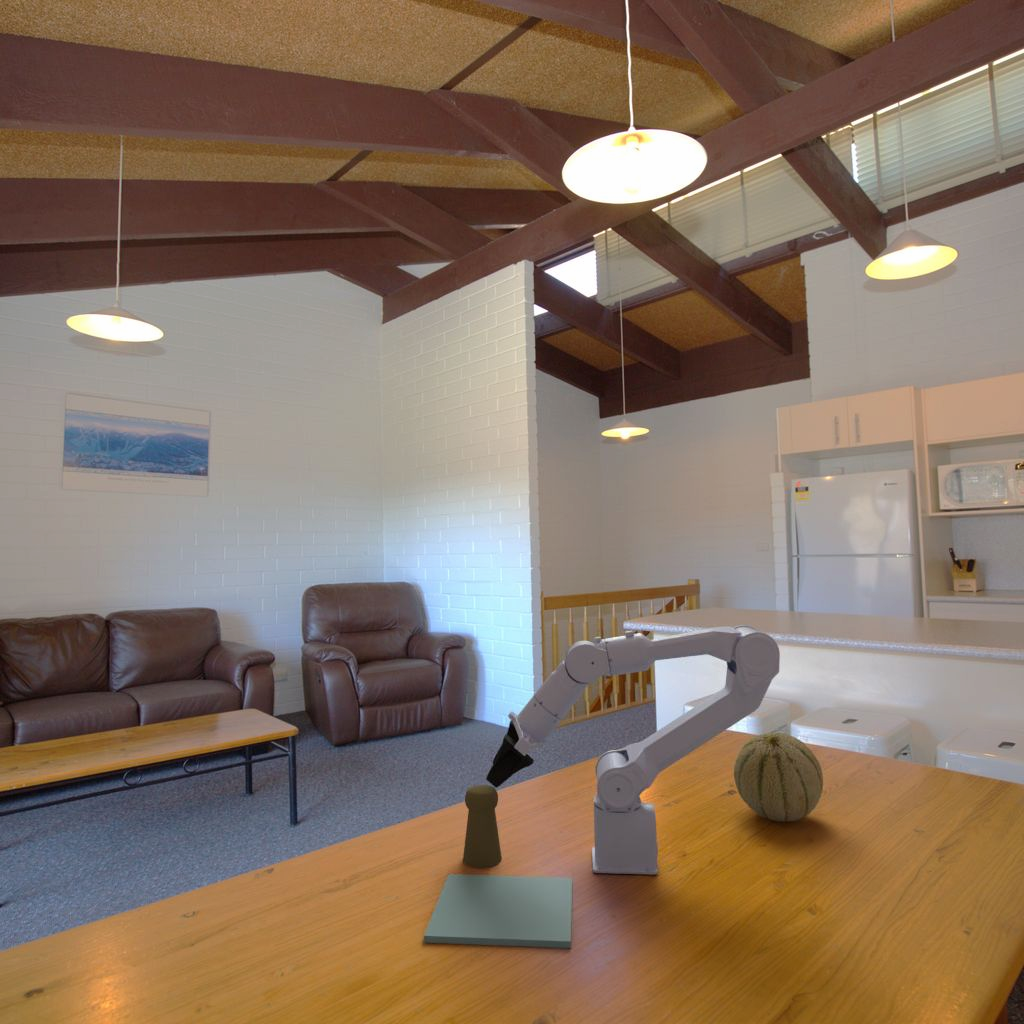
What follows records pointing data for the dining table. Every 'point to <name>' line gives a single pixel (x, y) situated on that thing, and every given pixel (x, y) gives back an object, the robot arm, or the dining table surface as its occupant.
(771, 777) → the cantaloupe
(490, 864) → the olive game pawn
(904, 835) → the dining table surface
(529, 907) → the teal board
